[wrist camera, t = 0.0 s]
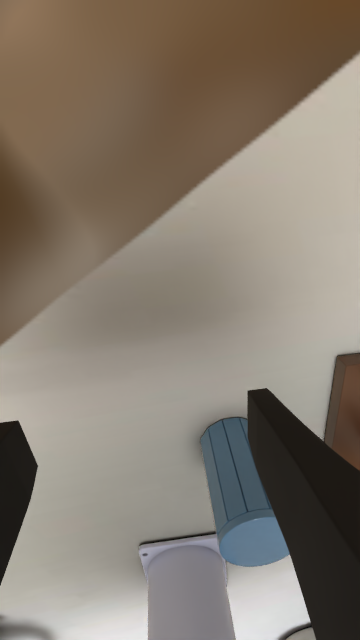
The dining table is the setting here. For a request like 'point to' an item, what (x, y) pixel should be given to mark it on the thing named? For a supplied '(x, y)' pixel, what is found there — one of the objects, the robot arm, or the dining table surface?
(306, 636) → the donut
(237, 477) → the cup
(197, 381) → the dining table surface
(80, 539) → the dining table surface
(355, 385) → the rack
